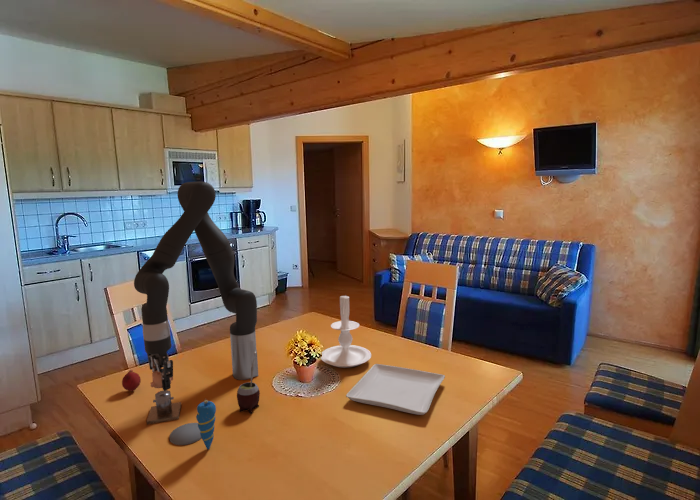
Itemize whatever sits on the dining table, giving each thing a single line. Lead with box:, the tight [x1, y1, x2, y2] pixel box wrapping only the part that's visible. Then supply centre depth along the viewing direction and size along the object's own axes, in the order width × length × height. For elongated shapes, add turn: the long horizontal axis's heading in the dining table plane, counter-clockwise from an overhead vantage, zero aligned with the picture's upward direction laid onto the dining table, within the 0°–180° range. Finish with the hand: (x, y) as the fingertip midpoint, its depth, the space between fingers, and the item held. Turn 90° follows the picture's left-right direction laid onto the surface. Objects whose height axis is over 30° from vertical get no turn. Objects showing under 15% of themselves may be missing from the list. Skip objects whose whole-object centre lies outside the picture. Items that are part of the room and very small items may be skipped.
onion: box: [121, 369, 142, 392], centre depth 147 cm, size 6×6×8 cm
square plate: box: [345, 363, 446, 416], centre depth 142 cm, size 27×27×4 cm
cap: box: [150, 370, 174, 389], centre depth 130 cm, size 5×7×5 cm
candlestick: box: [320, 295, 372, 368], centre depth 168 cm, size 21×25×28 cm
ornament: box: [195, 398, 217, 450], centre depth 113 cm, size 5×5×15 cm
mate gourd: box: [236, 358, 261, 415], centre depth 134 cm, size 8×8×15 cm
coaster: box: [169, 422, 202, 446], centre depth 121 cm, size 10×10×1 cm
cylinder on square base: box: [146, 389, 182, 425], centre depth 132 cm, size 9×9×7 cm
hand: (162, 386), depth 131 cm, fingers closed on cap, 5 cm apart
